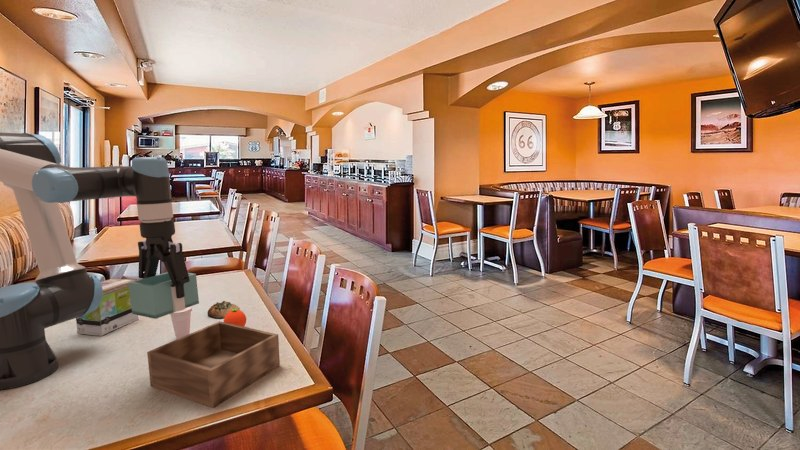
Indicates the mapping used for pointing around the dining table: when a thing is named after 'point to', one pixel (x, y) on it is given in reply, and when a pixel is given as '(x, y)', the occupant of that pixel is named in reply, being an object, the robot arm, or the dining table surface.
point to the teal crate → (159, 295)
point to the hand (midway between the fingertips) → (166, 307)
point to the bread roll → (221, 309)
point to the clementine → (235, 318)
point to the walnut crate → (213, 362)
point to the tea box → (109, 310)
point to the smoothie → (181, 322)
